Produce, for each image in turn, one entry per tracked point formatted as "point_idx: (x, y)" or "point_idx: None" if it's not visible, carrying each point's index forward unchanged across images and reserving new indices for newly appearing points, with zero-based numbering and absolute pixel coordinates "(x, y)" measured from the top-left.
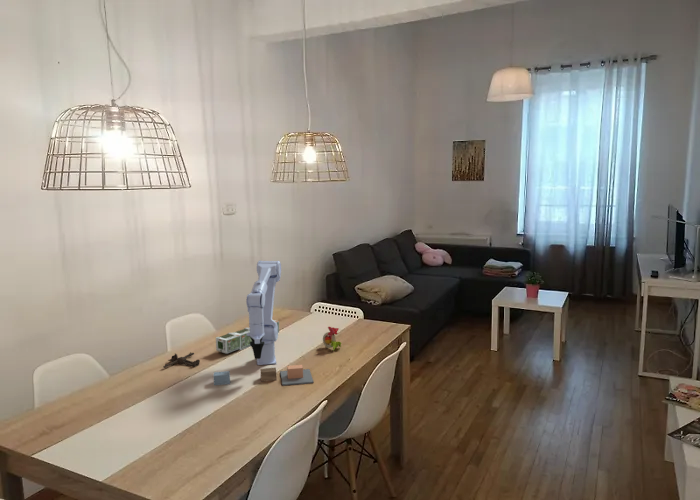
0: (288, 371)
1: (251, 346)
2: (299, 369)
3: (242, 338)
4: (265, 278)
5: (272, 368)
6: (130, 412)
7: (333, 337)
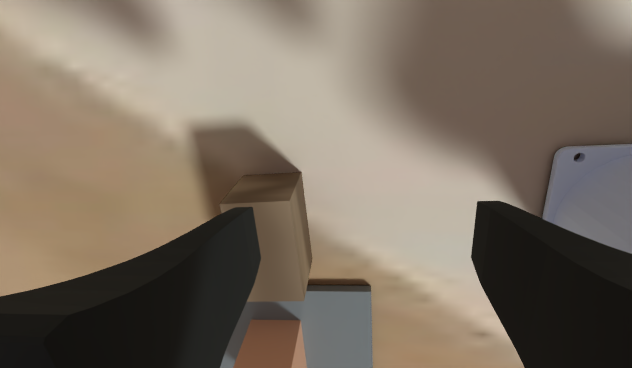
0: (237, 359)
1: (15, 296)
2: None
3: None
4: None
5: (287, 282)
6: None
7: None
